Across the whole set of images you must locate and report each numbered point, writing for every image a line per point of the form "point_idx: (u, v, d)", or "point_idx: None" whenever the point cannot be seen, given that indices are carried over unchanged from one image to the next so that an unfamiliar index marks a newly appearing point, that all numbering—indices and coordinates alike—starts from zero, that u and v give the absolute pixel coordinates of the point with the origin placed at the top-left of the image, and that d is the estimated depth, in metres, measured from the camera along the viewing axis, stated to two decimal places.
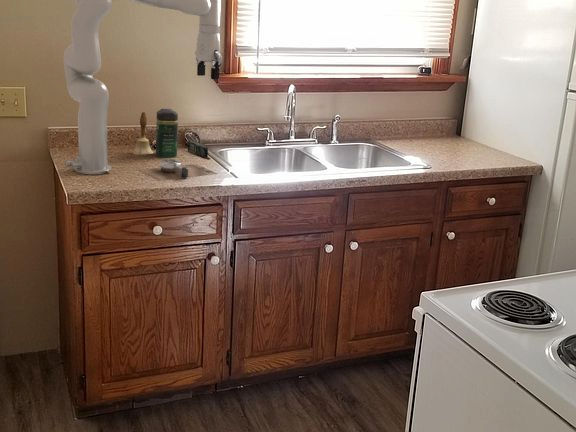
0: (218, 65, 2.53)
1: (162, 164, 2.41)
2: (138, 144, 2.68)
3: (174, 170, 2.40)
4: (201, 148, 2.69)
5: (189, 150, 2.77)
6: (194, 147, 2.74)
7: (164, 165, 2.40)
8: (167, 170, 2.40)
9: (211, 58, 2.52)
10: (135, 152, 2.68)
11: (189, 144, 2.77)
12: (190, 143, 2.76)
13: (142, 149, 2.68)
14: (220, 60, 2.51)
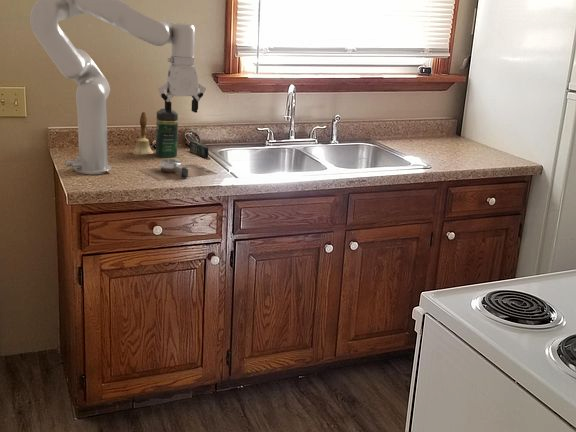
0: None
1: (162, 164, 2.41)
2: (138, 144, 2.68)
3: (174, 170, 2.40)
4: (202, 148, 2.69)
5: (191, 150, 2.78)
6: (195, 147, 2.74)
7: (164, 165, 2.40)
8: (167, 170, 2.40)
9: None
10: (135, 152, 2.68)
11: (191, 144, 2.77)
12: (192, 143, 2.76)
13: (142, 149, 2.68)
14: None
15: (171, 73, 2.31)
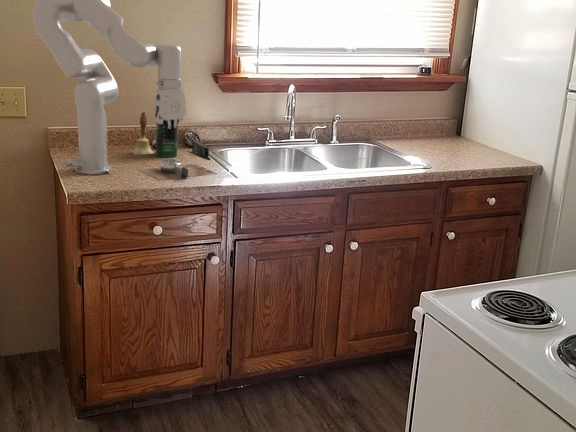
0: None
1: (162, 164, 2.41)
2: (138, 144, 2.68)
3: (174, 170, 2.40)
4: (202, 148, 2.69)
5: (193, 150, 2.78)
6: (197, 147, 2.74)
7: (164, 165, 2.40)
8: (167, 170, 2.40)
9: None
10: (135, 152, 2.68)
11: (193, 144, 2.77)
12: (194, 143, 2.76)
13: (142, 149, 2.68)
14: None
15: (161, 97, 2.23)
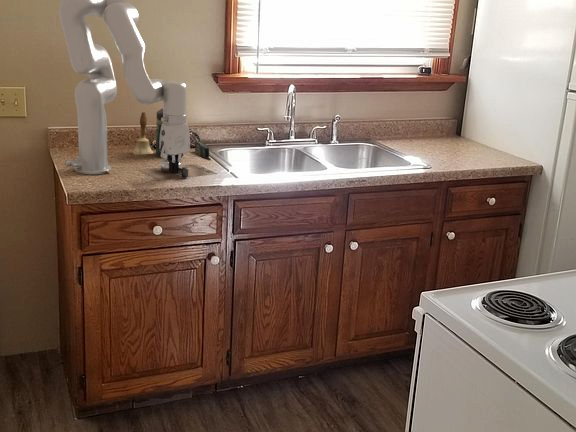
0: None
1: (162, 164, 2.41)
2: (138, 144, 2.68)
3: None
4: (203, 148, 2.68)
5: (195, 150, 2.78)
6: (199, 148, 2.74)
7: (164, 165, 2.40)
8: (167, 170, 2.40)
9: None
10: (135, 152, 2.68)
11: (196, 144, 2.77)
12: (196, 143, 2.77)
13: (142, 149, 2.68)
14: None
15: (166, 132, 2.28)
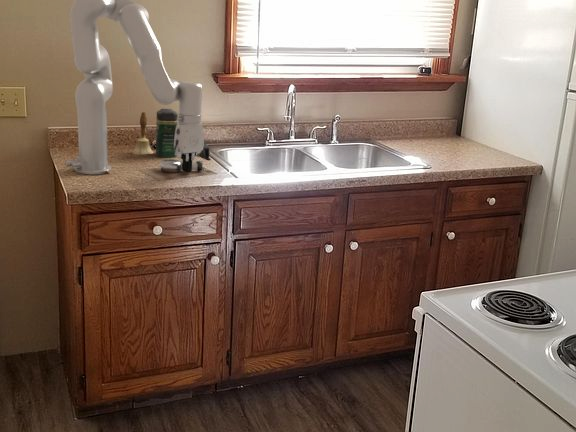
0: None
1: (172, 165, 2.40)
2: (138, 144, 2.68)
3: None
4: (203, 148, 2.68)
5: None
6: None
7: (175, 166, 2.41)
8: (178, 170, 2.42)
9: None
10: (135, 152, 2.68)
11: None
12: None
13: (142, 149, 2.68)
14: None
15: (181, 131, 2.33)
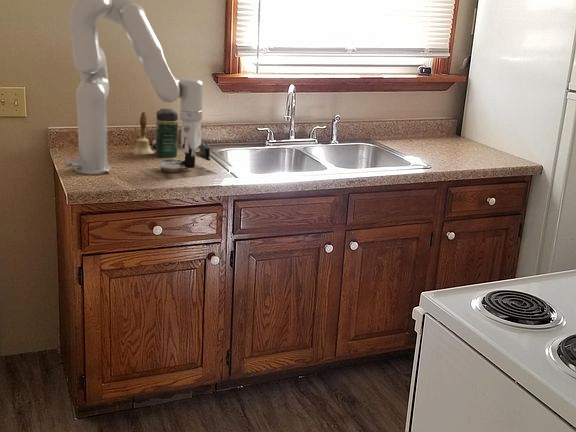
0: None
1: (178, 165, 2.41)
2: (138, 144, 2.68)
3: (181, 166, 2.46)
4: (203, 148, 2.68)
5: (200, 150, 2.78)
6: (201, 147, 2.74)
7: (179, 165, 2.42)
8: (180, 168, 2.44)
9: None
10: (135, 152, 2.68)
11: None
12: None
13: (142, 149, 2.68)
14: None
15: (191, 128, 2.38)
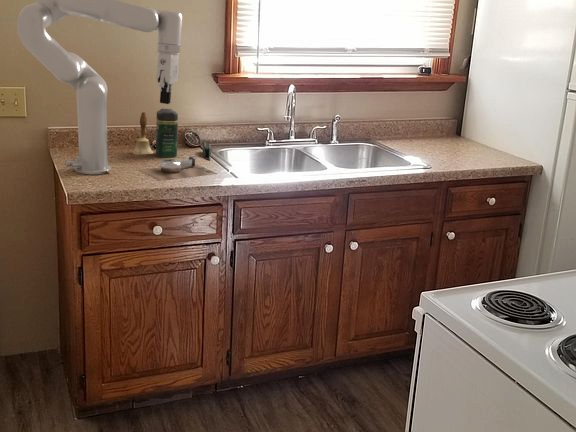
0: None
1: (178, 165, 2.41)
2: (138, 144, 2.68)
3: (181, 166, 2.46)
4: (204, 149, 2.68)
5: None
6: None
7: (179, 165, 2.42)
8: (180, 168, 2.44)
9: None
10: (135, 152, 2.68)
11: (203, 145, 2.77)
12: (203, 144, 2.77)
13: (142, 149, 2.68)
14: None
15: (167, 61, 2.31)
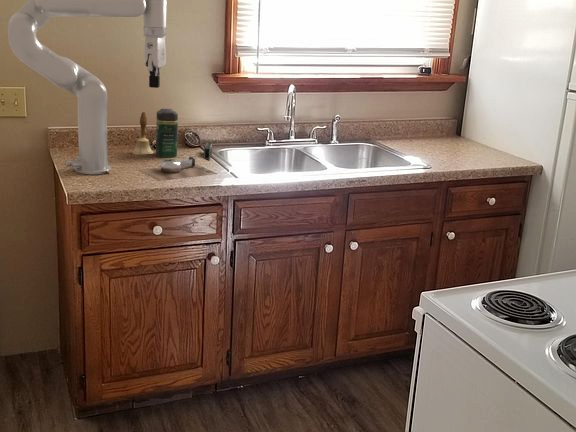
0: None
1: (178, 165, 2.41)
2: (138, 144, 2.68)
3: (181, 166, 2.46)
4: (204, 149, 2.68)
5: None
6: None
7: (179, 165, 2.42)
8: (180, 168, 2.44)
9: None
10: (135, 152, 2.68)
11: None
12: (205, 144, 2.76)
13: (142, 149, 2.68)
14: None
15: (154, 45, 2.32)
